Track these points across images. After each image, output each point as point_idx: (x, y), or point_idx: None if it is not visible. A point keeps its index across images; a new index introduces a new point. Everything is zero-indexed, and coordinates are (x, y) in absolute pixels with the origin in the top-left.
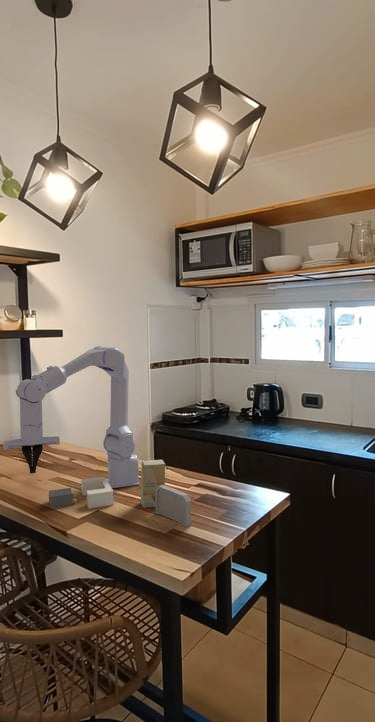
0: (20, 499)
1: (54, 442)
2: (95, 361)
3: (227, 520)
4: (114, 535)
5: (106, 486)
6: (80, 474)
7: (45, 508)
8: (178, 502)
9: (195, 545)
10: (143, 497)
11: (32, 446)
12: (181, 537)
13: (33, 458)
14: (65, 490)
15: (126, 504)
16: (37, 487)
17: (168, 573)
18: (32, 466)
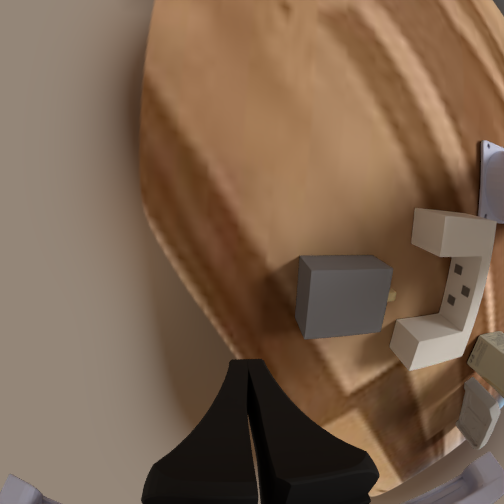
0: (192, 188)
1: (452, 496)
2: None
3: None
4: (370, 449)
5: (469, 318)
6: (423, 34)
7: (278, 312)
8: (476, 430)
9: (427, 459)
10: (479, 374)
11: (275, 482)
12: (431, 447)
13: (259, 482)
14: (370, 292)
15: None
16: (269, 73)
17: None
18: (249, 374)
